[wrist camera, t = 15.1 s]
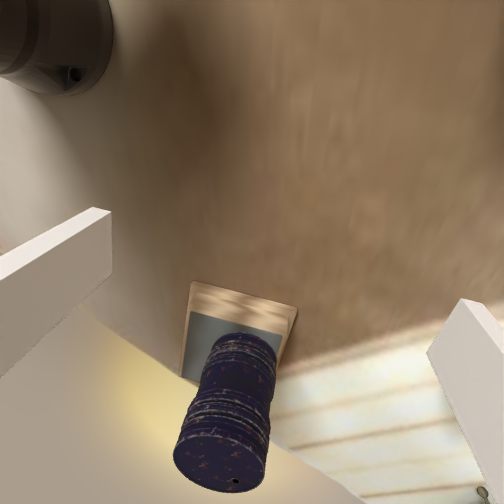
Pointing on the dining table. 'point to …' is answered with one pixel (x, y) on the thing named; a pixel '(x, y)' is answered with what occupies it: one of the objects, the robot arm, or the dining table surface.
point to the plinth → (240, 311)
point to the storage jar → (230, 416)
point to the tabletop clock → (483, 494)
